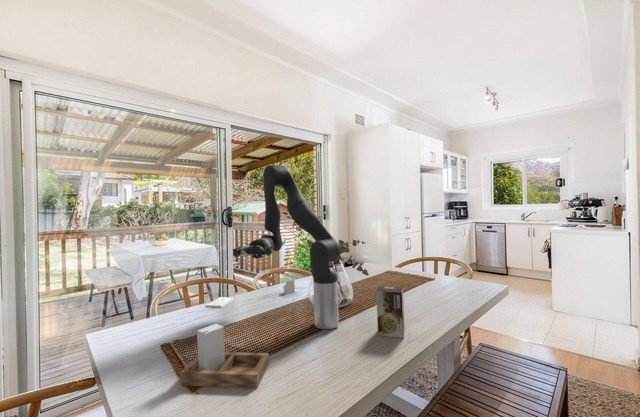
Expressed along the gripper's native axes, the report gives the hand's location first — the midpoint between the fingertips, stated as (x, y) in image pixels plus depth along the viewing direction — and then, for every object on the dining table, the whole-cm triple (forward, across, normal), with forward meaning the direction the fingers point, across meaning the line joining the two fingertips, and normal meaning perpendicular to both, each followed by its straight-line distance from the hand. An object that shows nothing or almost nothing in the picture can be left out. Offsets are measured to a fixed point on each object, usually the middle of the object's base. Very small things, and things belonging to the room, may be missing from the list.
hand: (246, 254), depth 109 cm
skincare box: (+24, -3, +29) cm, 38 cm away
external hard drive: (-38, -28, +31) cm, 56 cm away
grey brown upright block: (-5, +51, +30) cm, 59 cm away
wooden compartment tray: (+24, +2, +30) cm, 39 cm away
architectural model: (-54, +3, +31) cm, 62 cm away
